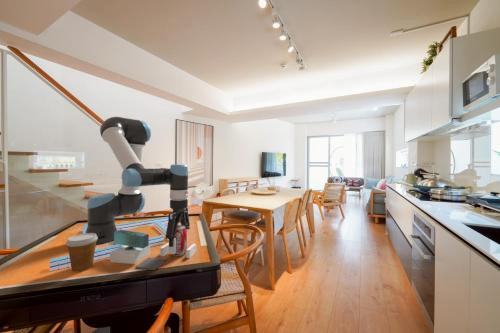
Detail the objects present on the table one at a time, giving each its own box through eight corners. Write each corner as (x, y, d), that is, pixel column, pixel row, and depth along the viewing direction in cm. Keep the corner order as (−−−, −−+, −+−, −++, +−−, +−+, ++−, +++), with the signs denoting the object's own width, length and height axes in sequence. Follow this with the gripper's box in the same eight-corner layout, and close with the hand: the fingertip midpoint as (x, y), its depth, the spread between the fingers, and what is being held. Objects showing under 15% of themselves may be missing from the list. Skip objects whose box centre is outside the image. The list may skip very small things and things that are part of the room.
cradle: (160, 256, 92) (160, 248, 92) (168, 249, 99) (168, 242, 99) (189, 258, 90) (189, 250, 90) (196, 251, 97) (196, 244, 97)
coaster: (135, 268, 81) (135, 266, 81) (148, 259, 89) (148, 257, 89) (154, 270, 80) (154, 268, 80) (166, 260, 88) (166, 259, 88)
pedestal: (110, 262, 86) (110, 251, 86) (127, 251, 96) (127, 242, 96) (134, 264, 85) (134, 253, 85) (150, 253, 95) (150, 244, 95)
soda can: (189, 253, 95) (190, 227, 95) (175, 258, 90) (175, 230, 90) (181, 249, 100) (182, 223, 100) (167, 253, 95) (167, 227, 94)
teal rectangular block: (142, 251, 86) (142, 236, 86) (114, 246, 92) (114, 231, 91) (148, 248, 89) (148, 234, 89) (120, 243, 94) (120, 229, 94)
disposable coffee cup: (71, 264, 84) (71, 234, 84) (100, 260, 87) (100, 231, 87) (61, 276, 75) (61, 242, 75) (93, 271, 79) (94, 239, 79)
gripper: (173, 204, 82) (173, 260, 83) (197, 195, 105) (196, 239, 106) (156, 203, 83) (155, 259, 84) (182, 195, 106) (182, 238, 107)
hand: (178, 248), depth 95 cm, fingers open, 11 cm apart
